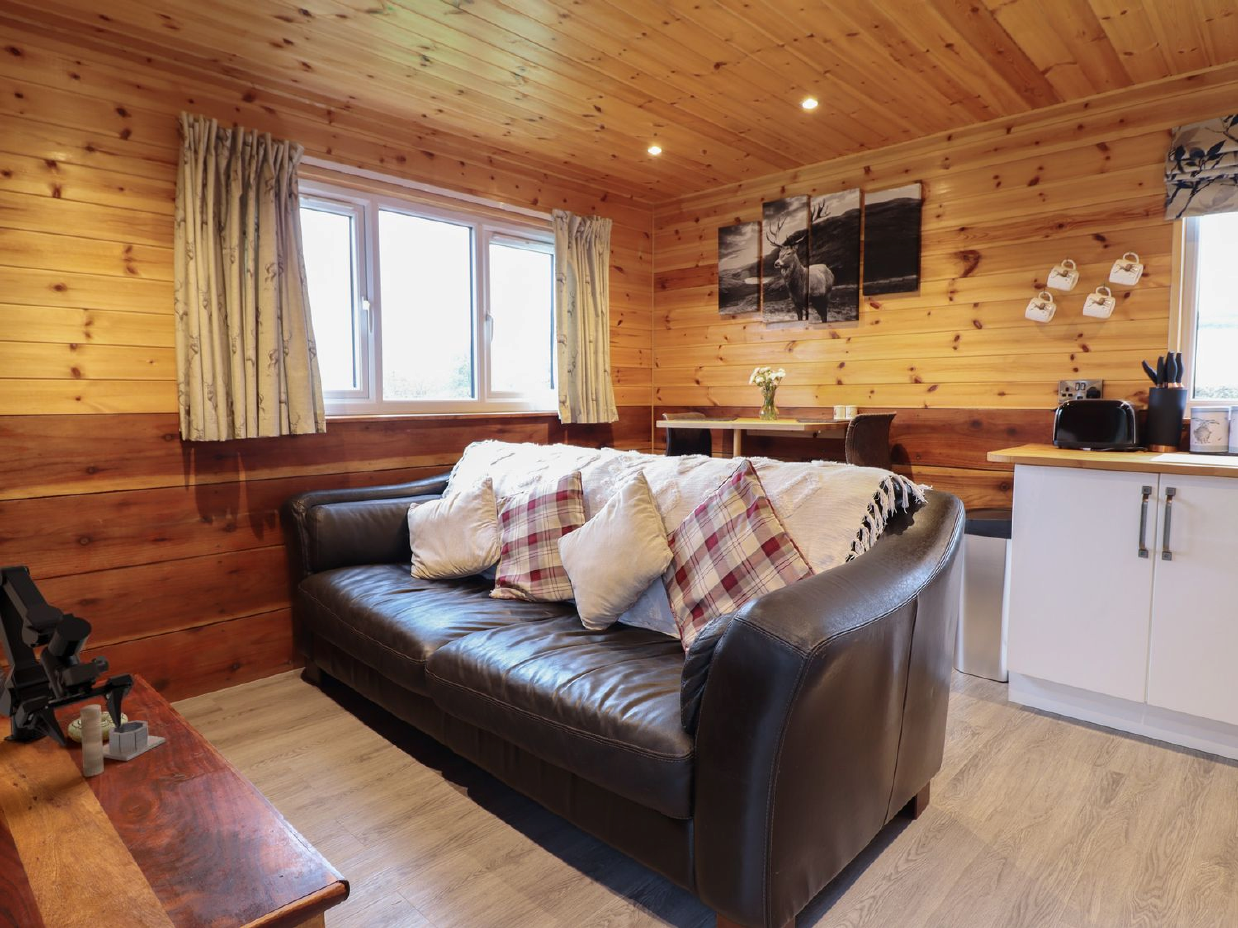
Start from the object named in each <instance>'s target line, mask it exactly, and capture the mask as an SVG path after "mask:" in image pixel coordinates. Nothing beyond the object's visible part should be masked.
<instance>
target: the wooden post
mask: <svg viewBox="0 0 1238 928" xmlns="http://www.w3.org/2000/svg"><path fill="white" fill-rule="evenodd" d="M101 706H102V705H100V704H89V705H86V706H83V707H81V708H80V711H79V713H80V718H81V732H82V742H81V752H82V769H83V771H82V772H83V774H82V775H83V776H84V777H86V778H87V777H88V778H89V777H90V776H91V777H95V776H98V775H100V774H102V773H103V772H104V768H105V767H104V757H103V746H104V745H103V741H102V722H101V712H102V707H101ZM94 775H95V776H94Z"/></svg>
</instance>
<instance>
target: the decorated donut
mask: <svg viewBox="0 0 1238 928" xmlns="http://www.w3.org/2000/svg"><path fill="white" fill-rule="evenodd" d="M101 722H102V742H103V741H109V730H110V728H112V727H114V726H115V725H114V723H113V721H112V719H111V717H110V714H109V712H108V711H101ZM124 722H129V719H128V716H127V715H126V714H124V712H121V723H124ZM67 727H68V728H67V733H68V736H69V738H70V739H71V740H72V741H74V742H77V743H82V732H81V717H79V718H77V719H75V720H73V721H71V723H70V724H69V725H68V726H67Z"/></svg>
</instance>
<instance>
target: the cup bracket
mask: <svg viewBox="0 0 1238 928" xmlns="http://www.w3.org/2000/svg"><path fill="white" fill-rule="evenodd" d="M108 742H109V743H107V744H105V745H103V758H105V759H113V760H118V761H123V762H124V761H125V762H127V761H129V760H132V759H134V758H136V757H138V756H140V755H142V754H144V753H145V752H147V751H150V750H153V748H156V747H158V746H160V745H161V744H163V743H165V742H166V737H161V736H156V735H149V722H148V721H146V720H145V721H144V720H137V719H135V720H131V721H128V722H124V723H121V726H120V728H117V727H116V726H114V727H112V728H110V730H109V739H108Z"/></svg>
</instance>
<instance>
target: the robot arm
mask: <svg viewBox="0 0 1238 928" xmlns="http://www.w3.org/2000/svg"><path fill="white" fill-rule="evenodd" d="M91 632H92V624H91V622H88V621H87V620H86V619H84V618H82V617H78V616H75V615H74V613H73V612H69V613H65V612H64V611H63V610H62V609H61V608H59V607H55V606H52V605H50V604H49V603H48V601H47V600H46V598H45V597H44V595H43V594H42V592H41V591H40V589H39V588H38V586H37V585H36V583H35V581H34V580H33V579H32V577H31V572H30V568H29V566H27V565H23V564H19V565H12V564H11V565H5V566H0V641H1V644H2V648H3V651H4V654H5V658H6V662H7V663H8V664H7V665H8V668H9V672H8V675H7V677H6V680H5V682H4V685H3V686H4V691H3V693H2V695H1V697H0V714H1V715H4V716H6V717H7V718H10V735H9V734H8V735H7V736H5V737H3V741H5V742H12V743H19V744H23V745H25V744H28V743H31V742H33V741H37V740H38V739H40V738H43V737H45V736H48V737H49V738H51V740H54V741H55V742H56V743H58V744H59V745H60V746H63V747H66V746H67V743H68V742H67V739H66V735H65V734H64V731H63V729H62V727H61V726H60V724H59V722H58V720H57V719H56V713H55V710H59V709H62V708H63V709H64V708H66V707H69V706H73V705H76V704H79V703H83V702H86V701H91V700H93V699H98V698H100V697H102V698H103V700H105V701H106V702H105V704H104V706H105V708H106V710H107V712H109V714H110V717H111V719H112V721H113V723H114V725H115V726H116V727H117V728H120V726H121V713H122V702H123V701H124V698H126V697H127V696H128V695H129V694H130V692H131V690H132V688H133V687H134V684H135V682H136V681H135V679H134V677H133V675H132V674H130V673H127V672H125V673H121V674H118V675H113V676H110V677H108V678H107V680H106V682H105V684H103V685H100V686H97V687H94V688H93V686H95V685H96V684H97V682H98V681H97V678H100V677H102V676H101V674H103V673H106V672H108V671H109V669H110V665H109V661H108V659H107V657H106V655H105V654H104V655H100V656H95V657H94V658H92V659H91V661H90V662H82V661H81V659H80V656H79V653H80V652H82V650H83V648H84V646H85V644H86V642H87V641H88V638H89V636H90V635H91ZM40 647H44V648H43V649H42V650H41V652H40V654H39V660H38V659H37V656H36V653H35V649H36V648H40ZM34 648H35V649H34Z"/></svg>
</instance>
